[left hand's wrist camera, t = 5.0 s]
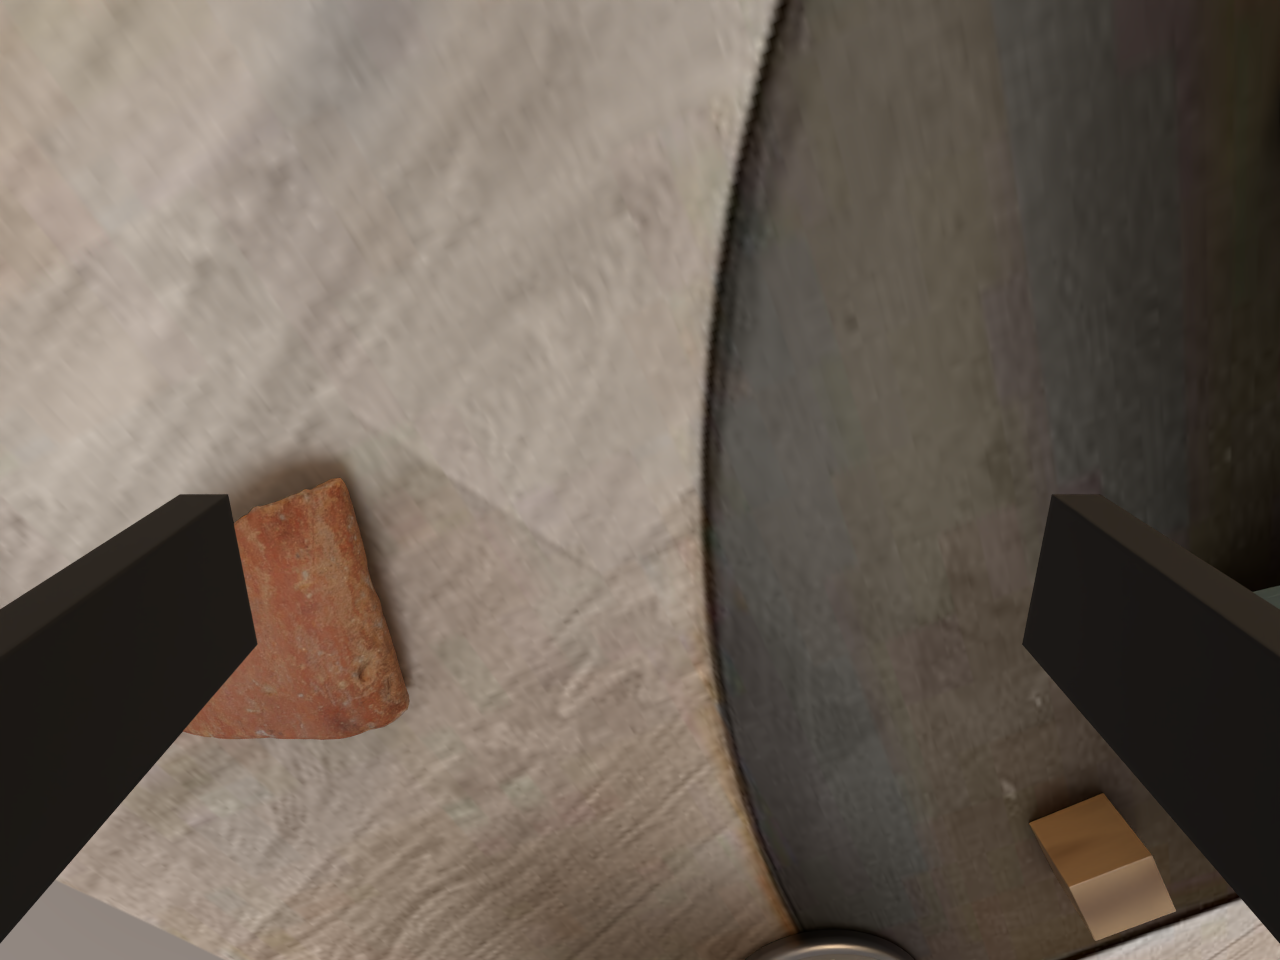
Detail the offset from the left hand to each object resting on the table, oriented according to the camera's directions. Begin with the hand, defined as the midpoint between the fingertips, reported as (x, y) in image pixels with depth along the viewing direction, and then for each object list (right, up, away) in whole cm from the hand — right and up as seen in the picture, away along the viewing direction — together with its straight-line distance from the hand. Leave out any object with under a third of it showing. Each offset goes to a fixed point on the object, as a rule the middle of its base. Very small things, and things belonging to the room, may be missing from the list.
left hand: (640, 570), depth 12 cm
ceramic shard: (-22, -6, +32) cm, 39 cm away
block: (+29, -22, +38) cm, 52 cm away
